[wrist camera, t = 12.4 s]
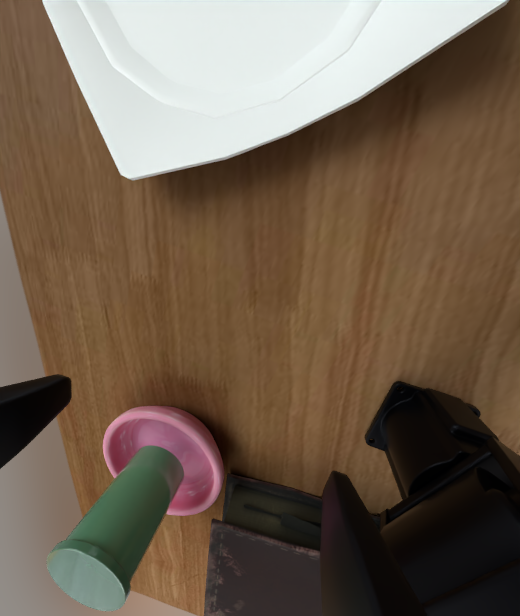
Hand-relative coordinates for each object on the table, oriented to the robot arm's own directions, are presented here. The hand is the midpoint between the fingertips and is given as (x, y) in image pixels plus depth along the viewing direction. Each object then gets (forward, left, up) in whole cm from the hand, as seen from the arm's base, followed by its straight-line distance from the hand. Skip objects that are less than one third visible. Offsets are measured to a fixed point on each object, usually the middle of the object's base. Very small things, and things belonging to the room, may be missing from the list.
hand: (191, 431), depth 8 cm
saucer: (-17, +5, -13) cm, 22 cm away
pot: (-17, +5, -10) cm, 20 cm away
